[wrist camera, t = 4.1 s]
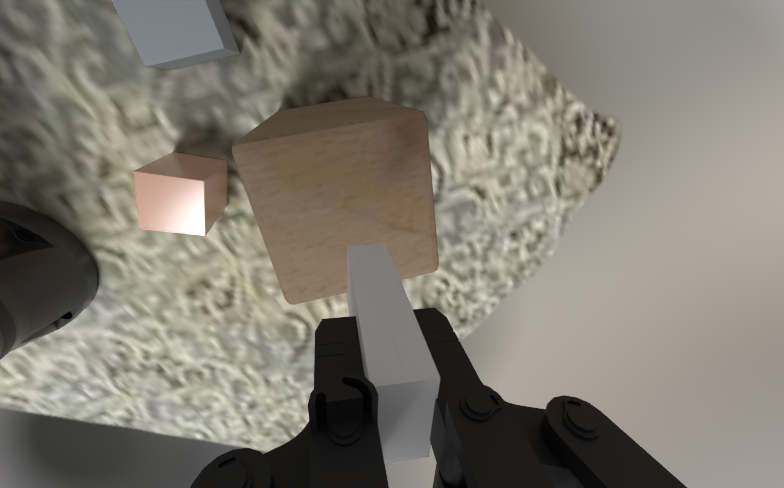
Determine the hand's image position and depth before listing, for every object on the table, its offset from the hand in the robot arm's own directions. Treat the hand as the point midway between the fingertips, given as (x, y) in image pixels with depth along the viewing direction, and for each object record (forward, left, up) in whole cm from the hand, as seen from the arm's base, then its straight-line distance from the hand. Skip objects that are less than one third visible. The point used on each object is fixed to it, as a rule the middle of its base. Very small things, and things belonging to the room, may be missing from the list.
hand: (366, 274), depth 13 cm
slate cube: (-12, +11, -26) cm, 31 cm away
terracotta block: (-14, -3, -26) cm, 30 cm away
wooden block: (0, 0, -26) cm, 26 cm away
